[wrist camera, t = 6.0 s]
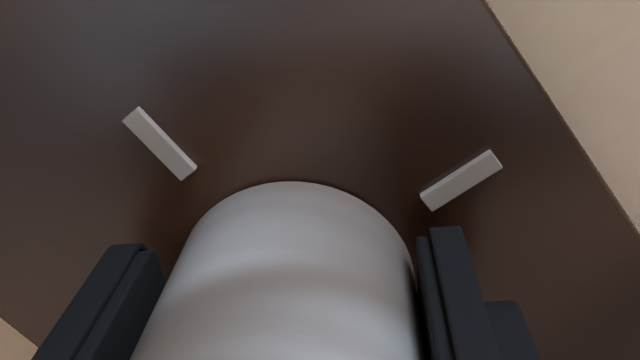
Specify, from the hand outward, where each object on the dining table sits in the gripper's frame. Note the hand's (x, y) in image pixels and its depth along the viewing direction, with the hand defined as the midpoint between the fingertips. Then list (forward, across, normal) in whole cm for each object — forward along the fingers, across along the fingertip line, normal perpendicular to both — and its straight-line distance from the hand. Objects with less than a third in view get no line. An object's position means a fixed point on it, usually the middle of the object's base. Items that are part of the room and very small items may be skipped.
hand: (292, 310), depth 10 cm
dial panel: (+4, 0, 0) cm, 4 cm away
